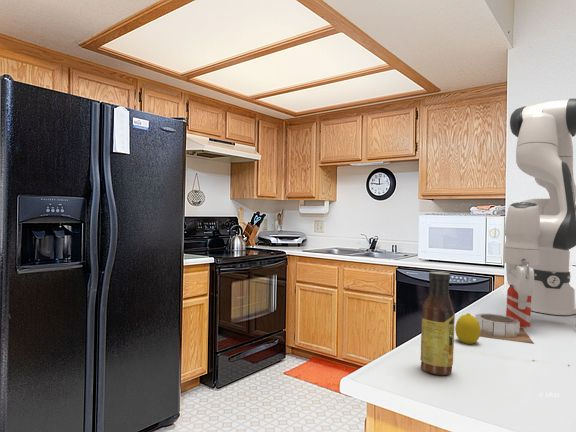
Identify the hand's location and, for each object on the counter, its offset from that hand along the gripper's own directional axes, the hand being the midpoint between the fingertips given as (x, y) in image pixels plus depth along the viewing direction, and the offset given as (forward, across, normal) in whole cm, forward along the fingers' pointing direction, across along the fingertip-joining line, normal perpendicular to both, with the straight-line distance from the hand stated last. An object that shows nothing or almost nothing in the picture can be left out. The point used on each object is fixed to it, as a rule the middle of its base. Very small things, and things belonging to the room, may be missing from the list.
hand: (518, 305), depth 118 cm
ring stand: (+6, -12, +7) cm, 15 cm away
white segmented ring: (+5, -12, +7) cm, 15 cm away
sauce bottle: (+6, -46, +22) cm, 51 cm away
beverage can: (+6, 0, 0) cm, 6 cm away
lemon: (+6, -26, +15) cm, 31 cm away
